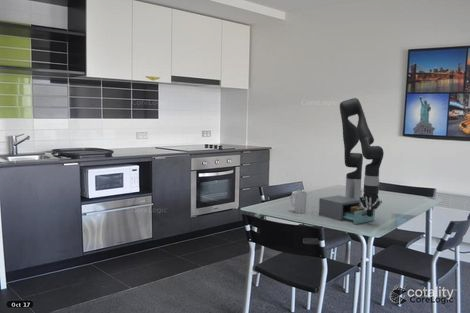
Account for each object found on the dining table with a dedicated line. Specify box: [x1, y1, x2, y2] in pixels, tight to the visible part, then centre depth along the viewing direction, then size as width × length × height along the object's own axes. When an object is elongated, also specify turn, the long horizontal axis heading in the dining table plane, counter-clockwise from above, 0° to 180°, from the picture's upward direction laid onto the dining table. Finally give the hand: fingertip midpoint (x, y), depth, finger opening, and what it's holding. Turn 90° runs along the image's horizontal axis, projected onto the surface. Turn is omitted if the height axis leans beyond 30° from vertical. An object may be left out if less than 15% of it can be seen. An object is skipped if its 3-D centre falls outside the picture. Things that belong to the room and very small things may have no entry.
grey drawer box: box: [318, 194, 362, 222], centre depth 239 cm, size 16×16×10 cm
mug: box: [289, 190, 308, 214], centre depth 248 cm, size 10×7×12 cm, turn 52°
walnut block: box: [351, 206, 366, 215], centre depth 229 cm, size 5×5×5 cm
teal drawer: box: [343, 209, 376, 225], centre depth 232 cm, size 16×16×6 cm
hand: (369, 216), depth 223 cm, fingers closed
